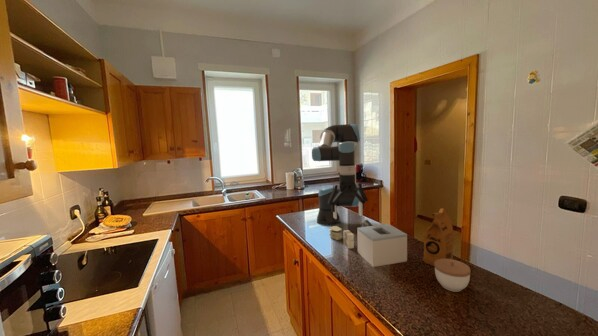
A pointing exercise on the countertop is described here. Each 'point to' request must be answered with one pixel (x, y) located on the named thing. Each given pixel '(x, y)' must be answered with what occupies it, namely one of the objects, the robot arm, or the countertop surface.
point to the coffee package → (438, 239)
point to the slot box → (382, 244)
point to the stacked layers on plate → (335, 233)
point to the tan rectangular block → (348, 239)
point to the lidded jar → (452, 274)
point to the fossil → (366, 224)
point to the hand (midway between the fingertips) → (348, 216)
